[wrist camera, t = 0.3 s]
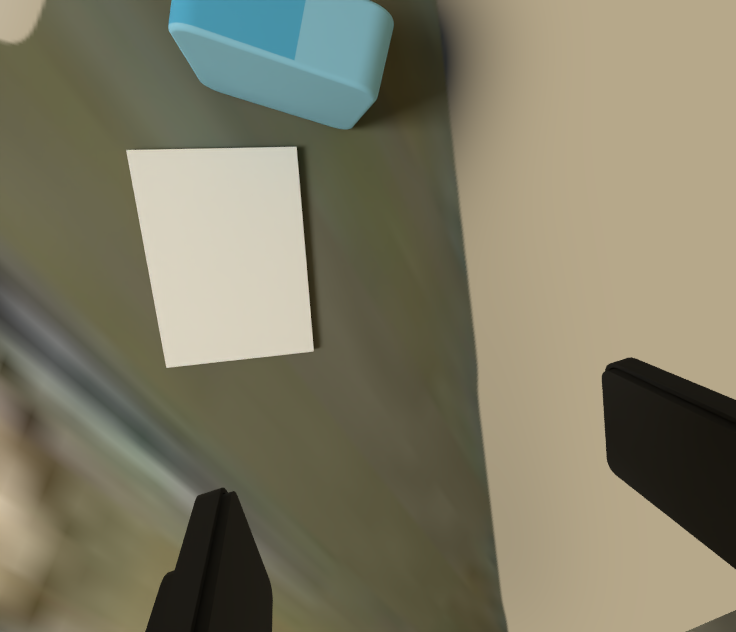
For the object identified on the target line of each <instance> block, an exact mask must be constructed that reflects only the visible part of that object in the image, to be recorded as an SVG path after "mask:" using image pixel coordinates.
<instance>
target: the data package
mask: <svg viewBox="0 0 736 632" xmlns="http://www.w3.org/2000/svg"><path fill="white" fill-rule="evenodd" d="M393 27H394V21H393V18H392V16H391V15H390V13H389V12H388V11H387V10H386V9H384V8H383V7H382V6H380V5H378V4H376V3H374V2H372V1H369V0H172V2H171V10H170V18H169V25H168V28H169V31H170V33H171V35H172V37H173V38H174V40H175V41H176V43H177V45H178V46H179V48H180V49H181V51H182V53H183V54H184V56H185V58H186V59H187V61H188V62H189V64H190V66H191V67H192V69H193V70H194V72H195V74H196V75H197V77H198V79H199V80H200V82H201V83H203V84H204V85H205V86H207V87H209V88H211V89H213V90H215V91H218V92H221V93H224V94H227V95H230V96H233V97H237V98H240V99H243V100H246V101H250V102H253V103H256V104H259V105H263V106H266V107H269V108H272V109H276V110H279V111H282V112H285V113H289V114H292V115H295V116H298V117H302V118H305V119H308V120H311V121H315V122H318V123H321V124H324V125H328V126H331V127H334V128H339V129H351V128H352V127H353V126H354V125H355V124H356V123H357V122H358V120H359V119H360V118H361V117H362V116H363V115H364V114H365V112H366V111H367V110H368V109H369V108H370V107H371V106H372V104H373V103H374V102H375V101H376V100H377V97H378V93H379V89H380V84H381V80H382V75H383V71H384V67H385V62H386V58H387V54H388V49H389V45H390V40H391V36H392V32H393Z"/></svg>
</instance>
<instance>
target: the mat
mask: <svg viewBox="0 0 736 632" xmlns="http://www.w3.org/2000/svg"><path fill="white" fill-rule="evenodd" d="M126 151H127V156H128V162H129V167H130V173H131V178H132V184H133V189H134V194H135V200H136V205H137V211H138V216H139V221H140V227H141V232H142V238H143V243H144V248H145V254H146V259H147V265H148V270H149V276H150V281H151V286H152V292H153V297H154V303H155V308H156V313H157V319H158V324H159V330H160V335H161V341H162V346H163V351H164V357H165V362H166V368H168V367H177V366H186V365H195V364H204V363H213V362H222V361H231V360H240V359H249V358H258V357H267V356H276V355H285V354H294V353H303V352H312V351H314V347H313V336H312V324H311V312H310V300H309V288H308V276H307V264H306V253H305V241H304V229H303V217H302V205H301V193H300V181H299V170H298V158H297V147H262V148H210V149H158V150H126Z"/></svg>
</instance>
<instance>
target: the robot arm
mask: <svg viewBox="0 0 736 632" xmlns="http://www.w3.org/2000/svg"><path fill="white" fill-rule="evenodd" d="M602 389H603V405H604V420H605V437H606V451H607V462H608V465H609V467H610V469H611V470H612V471H613V472H614V474H615V475H617V476H618V477H619V478H620V479H622V480H623V481H624V482H625V483H627V484H628V485H629V486H630V487H632V488H633V489H634V490H636V491H637V492H638V493H639V494H641V495H642V496H643V497H644V498H646V499H647V500H648V501H650V502H651V503H652V504H653V505H655V506H656V507H657V508H658V509H660V510H661V511H662V512H664V513H665V514H666V515H667V516H669V517H670V518H671V519H673V520H674V521H675V522H677V523H678V524H679V525H680V526H681V527H683V528H684V529H685V530H686V531H688V532H689V533H690V534H692V535H693V536H694V537H696V538H697V539H698V540H699V541H700V542H702V543H703V544H704V545H706V546H707V547H708V548H709V549H711V550H712V551H713V552H715V553H716V554H717V555H718V556H720V557H721V558H722V559H723V560H725V561H726V562H727V563H729V564H730V565H731V566H732V567H734V568H735V569H736V400H734V399H732V398H729V397H727V396H725V395H722V394H720V393H717V392H715V391H713V390H710V389H708V388H705V387H703V386H700V385H698V384H696V383H693V382H691V381H689V380H686V379H684V378H681V377H679V376H677V375H674V374H672V373H669V372H666V371H664V370H662V369H660V368H657V367H655V366H652V365H650V364H648V363H645V362H643V361H640V360H638V359H635V358H626V359H623V360H620V361H617V362H614V363H610V364H609V365H607V367H606V369H605V372H604V373H603V374H602ZM272 604H273V598H272V589H271V584H270V580H269V578H268V575H267V572H266V570H265V567H264V564H263V562H262V559H261V556H260V554H259V551H258V549H257V546H256V543H255V541H254V538H253V535H252V533H251V530H250V528H249V525H248V522H247V520H246V517H245V514H244V512H243V509H242V507H241V504H240V501H239V499H238V496H237V494H236V492H234V491H232V492H229V493H228V492H227V490H226V489H225V488H220V489H217V490H214V491H211V492H207V493H204V494H201V495H199V496H197V498H196V500H195V503H194V506H193V510H192V513H191V517H190V520H189V523H188V527H187V530H186V534H185V537H184V540H183V544H182V547H181V551H180V554H179V557H178V561H177V564H176V568H175V570H174V571H171V572H168V573H167V574H166V575H165V576H164V578H163V580H162V582H161V585H160V588H159V591H158V594H157V597H156V600H155V603H154V606H153V610H152V613H151V616H150V619H149V622H148V625H147V628H146V631H145V632H272ZM686 632H736V610H735V611H733V612H730V613H728V614H726V615H724V616H721V617H719V618H717V619H714V620H712V621H709V622H707V623H705V624H703V625H700V626H698V627H696V628H693V629H691V630H689V631H686Z"/></svg>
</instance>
